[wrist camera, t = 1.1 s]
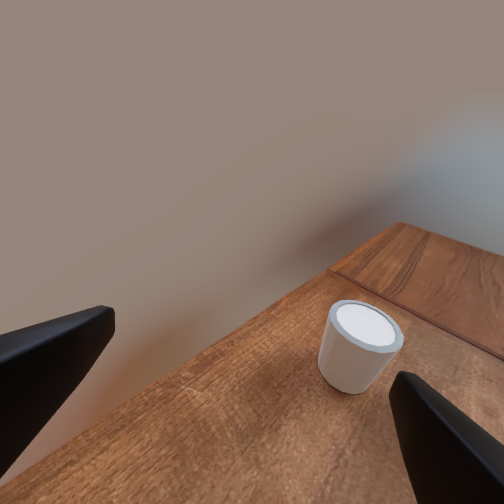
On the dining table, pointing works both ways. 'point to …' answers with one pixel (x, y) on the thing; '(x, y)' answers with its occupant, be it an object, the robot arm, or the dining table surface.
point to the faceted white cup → (357, 345)
